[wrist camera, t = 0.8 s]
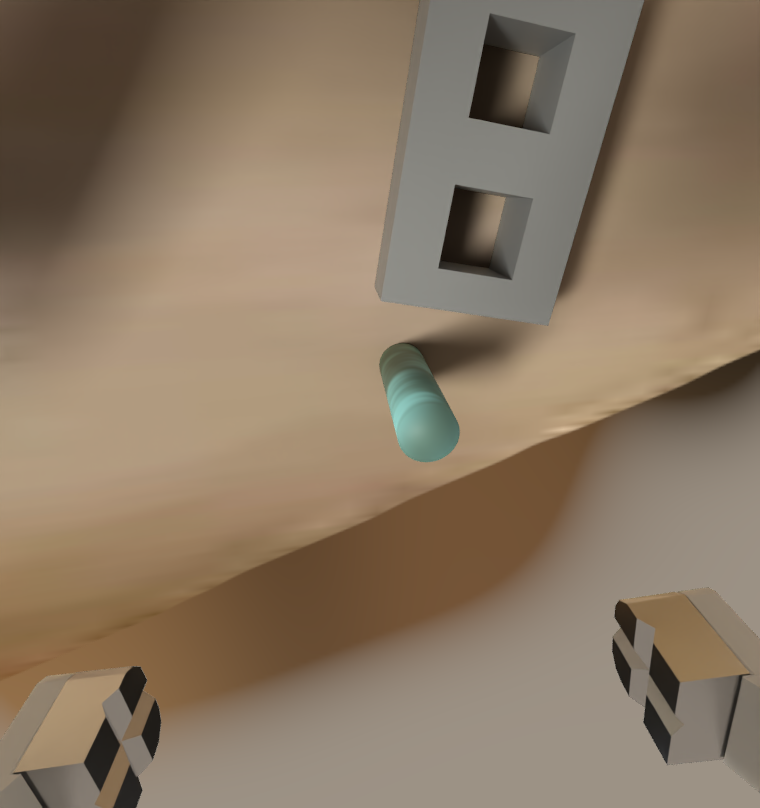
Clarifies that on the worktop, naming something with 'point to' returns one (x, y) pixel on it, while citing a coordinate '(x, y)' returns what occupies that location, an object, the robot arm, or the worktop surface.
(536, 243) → the socket block
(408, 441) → the teal peg
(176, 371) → the worktop surface
